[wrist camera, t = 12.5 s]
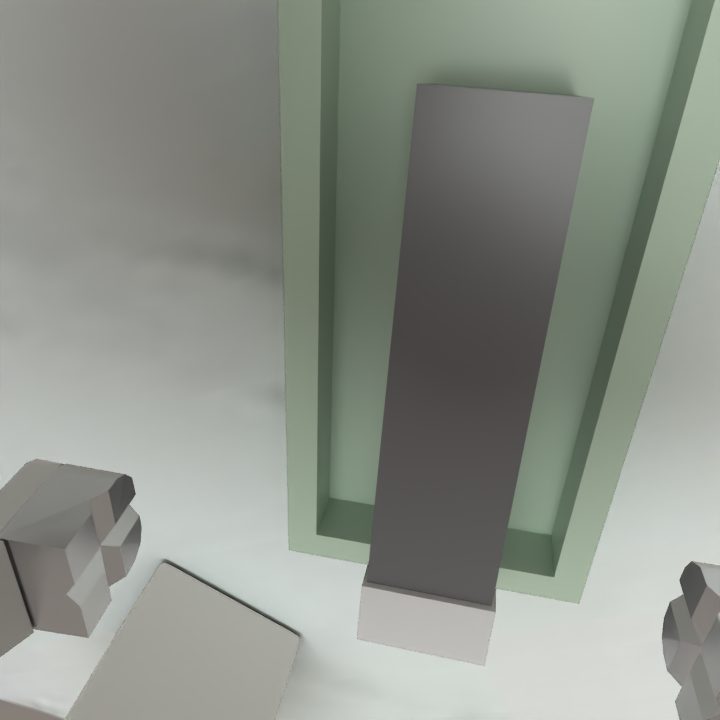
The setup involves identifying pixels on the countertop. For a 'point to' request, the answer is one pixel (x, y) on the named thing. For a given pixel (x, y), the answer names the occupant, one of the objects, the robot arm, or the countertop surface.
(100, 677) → the milk carton
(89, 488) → the robot arm
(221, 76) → the countertop surface
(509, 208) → the dark grey bar
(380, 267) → the tray
